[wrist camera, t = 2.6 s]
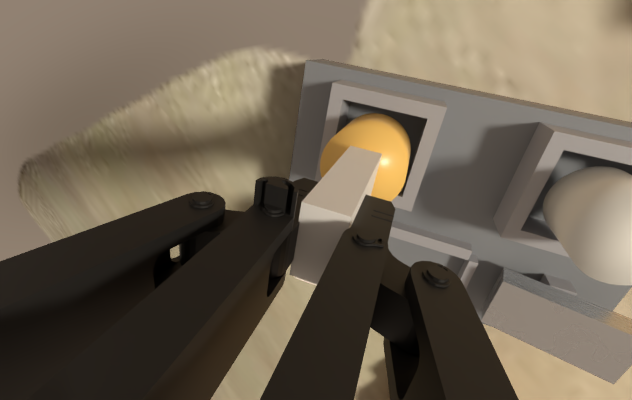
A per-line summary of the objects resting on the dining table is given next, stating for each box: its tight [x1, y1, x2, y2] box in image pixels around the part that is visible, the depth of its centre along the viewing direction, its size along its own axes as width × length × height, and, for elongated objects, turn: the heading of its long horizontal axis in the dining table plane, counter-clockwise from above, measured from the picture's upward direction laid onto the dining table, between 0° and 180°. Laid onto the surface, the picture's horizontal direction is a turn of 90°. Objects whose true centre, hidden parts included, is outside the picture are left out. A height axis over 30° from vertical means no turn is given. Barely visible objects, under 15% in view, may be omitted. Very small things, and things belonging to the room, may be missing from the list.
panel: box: [289, 59, 632, 326], centre depth 23 cm, size 24×16×7 cm, turn 81°
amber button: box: [320, 113, 411, 202], centre depth 18 cm, size 4×4×4 cm
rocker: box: [481, 268, 632, 384], centre depth 21 cm, size 8×4×2 cm, turn 81°
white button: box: [543, 166, 632, 285], centre depth 16 cm, size 4×4×4 cm
